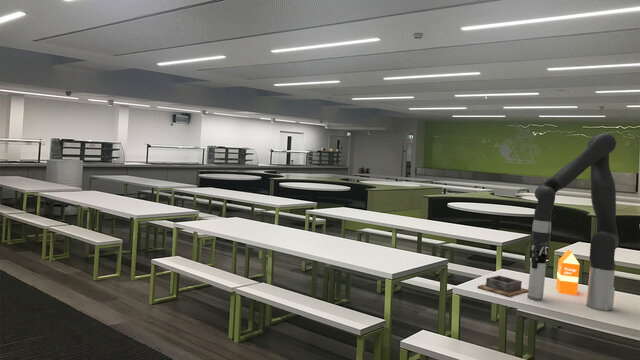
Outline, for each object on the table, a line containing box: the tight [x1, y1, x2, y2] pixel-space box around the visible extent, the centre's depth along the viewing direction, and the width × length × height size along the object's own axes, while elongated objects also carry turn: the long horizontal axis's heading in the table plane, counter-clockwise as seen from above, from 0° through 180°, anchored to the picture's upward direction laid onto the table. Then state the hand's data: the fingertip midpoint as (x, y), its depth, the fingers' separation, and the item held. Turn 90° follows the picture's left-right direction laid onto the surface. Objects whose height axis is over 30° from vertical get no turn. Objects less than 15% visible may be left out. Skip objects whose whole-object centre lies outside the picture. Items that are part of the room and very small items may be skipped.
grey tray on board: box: [477, 275, 528, 298], centre depth 221 cm, size 16×18×5 cm
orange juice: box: [555, 249, 581, 296], centre depth 226 cm, size 8×9×20 cm
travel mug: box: [527, 255, 548, 302], centre depth 210 cm, size 6×7×20 cm
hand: (538, 267), depth 210 cm, fingers closed on travel mug, 6 cm apart
